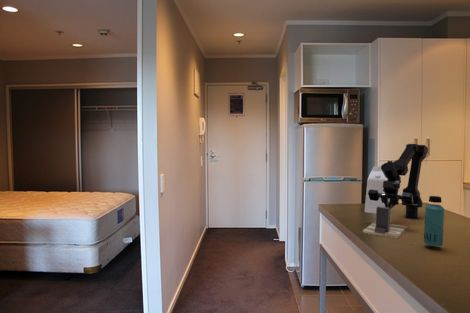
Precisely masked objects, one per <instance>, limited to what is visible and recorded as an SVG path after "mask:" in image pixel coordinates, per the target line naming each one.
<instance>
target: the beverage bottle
mask: <svg viewBox="0 0 470 313" xmlns="http://www.w3.org/2000/svg"><path fill="white" fill-rule="evenodd" d="M428 202H430V203H429V204H427V205H426V206H425V209H424V210H425V212H424V228H423V232H424V233H423V242H424V244H425V245H427V246H431V247H437V248H438V247H439V248H440V247H443V245H444V222H445V221H444V218H445V208H444V207H443V206H442V205H441V203H442V197H441V196H439V195H429V197H428ZM433 203H434V204H433ZM435 203H436V204H435Z"/></svg>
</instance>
